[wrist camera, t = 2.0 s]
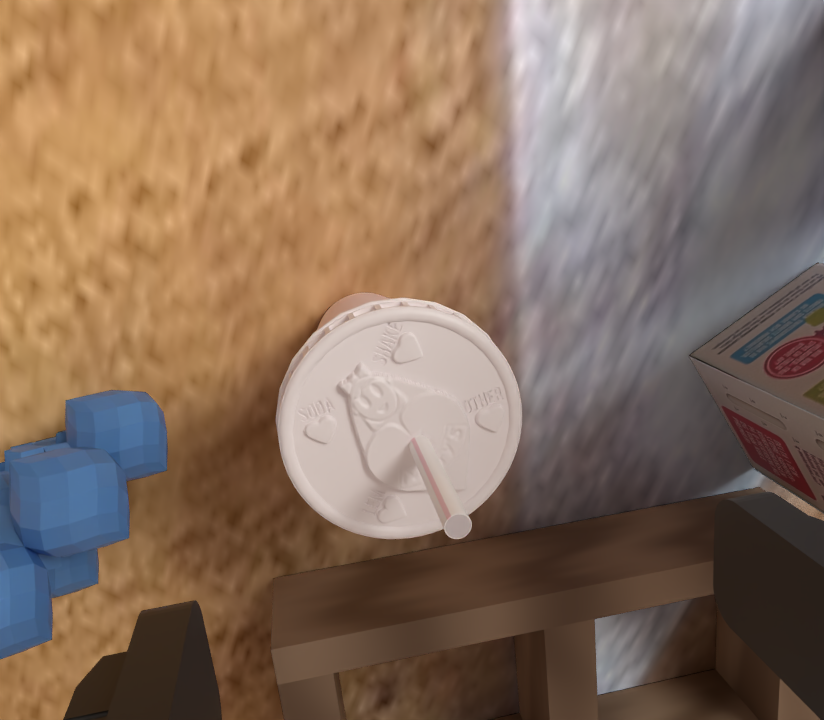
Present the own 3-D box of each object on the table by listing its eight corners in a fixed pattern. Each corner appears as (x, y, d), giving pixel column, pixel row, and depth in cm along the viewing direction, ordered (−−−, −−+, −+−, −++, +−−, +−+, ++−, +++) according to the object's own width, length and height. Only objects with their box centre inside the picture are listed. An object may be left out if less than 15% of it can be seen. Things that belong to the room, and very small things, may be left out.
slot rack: (759, 487, 32) (833, 536, 27) (751, 685, 35) (816, 758, 30) (273, 578, 29) (270, 649, 24) (312, 786, 32) (315, 882, 28)
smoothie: (361, 449, 28) (427, 704, 15) (243, 339, 26) (196, 518, 13) (478, 340, 28) (655, 500, 14) (367, 220, 26) (453, 275, 12)
